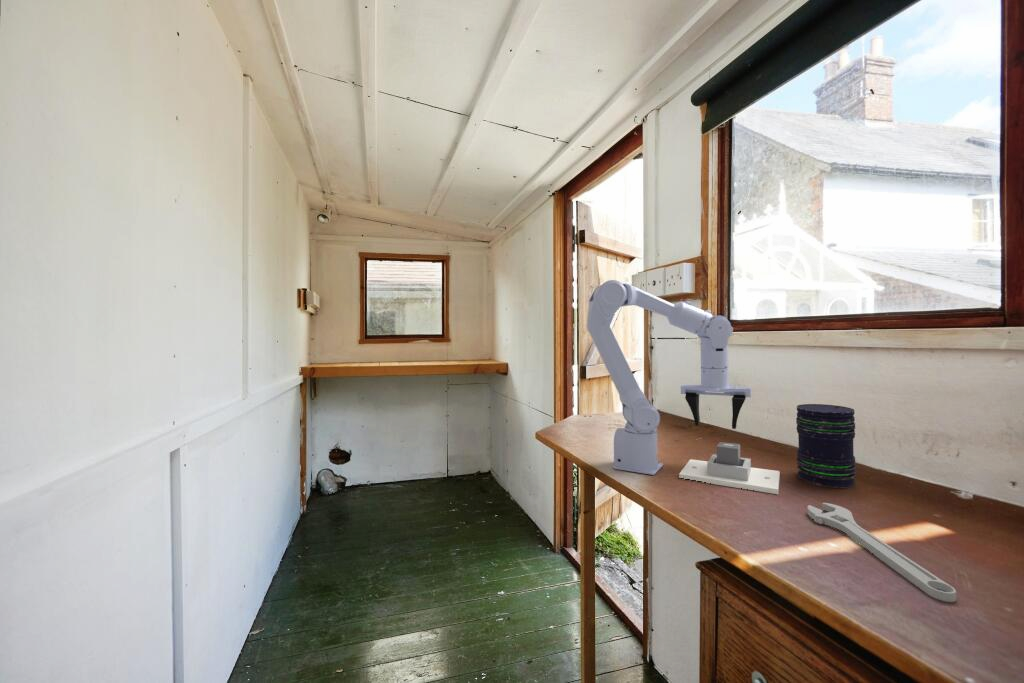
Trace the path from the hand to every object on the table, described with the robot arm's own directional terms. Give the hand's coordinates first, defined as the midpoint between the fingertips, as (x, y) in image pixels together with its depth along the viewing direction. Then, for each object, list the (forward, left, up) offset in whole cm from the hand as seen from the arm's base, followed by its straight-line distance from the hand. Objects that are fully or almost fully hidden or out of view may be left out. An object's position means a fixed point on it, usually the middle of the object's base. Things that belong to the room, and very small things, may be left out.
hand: (715, 426), depth 97 cm
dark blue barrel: (+20, +2, -10) cm, 23 cm away
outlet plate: (+3, -6, -9) cm, 12 cm away
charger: (+3, -7, -8) cm, 11 cm away
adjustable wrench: (+23, -28, -10) cm, 38 cm away
